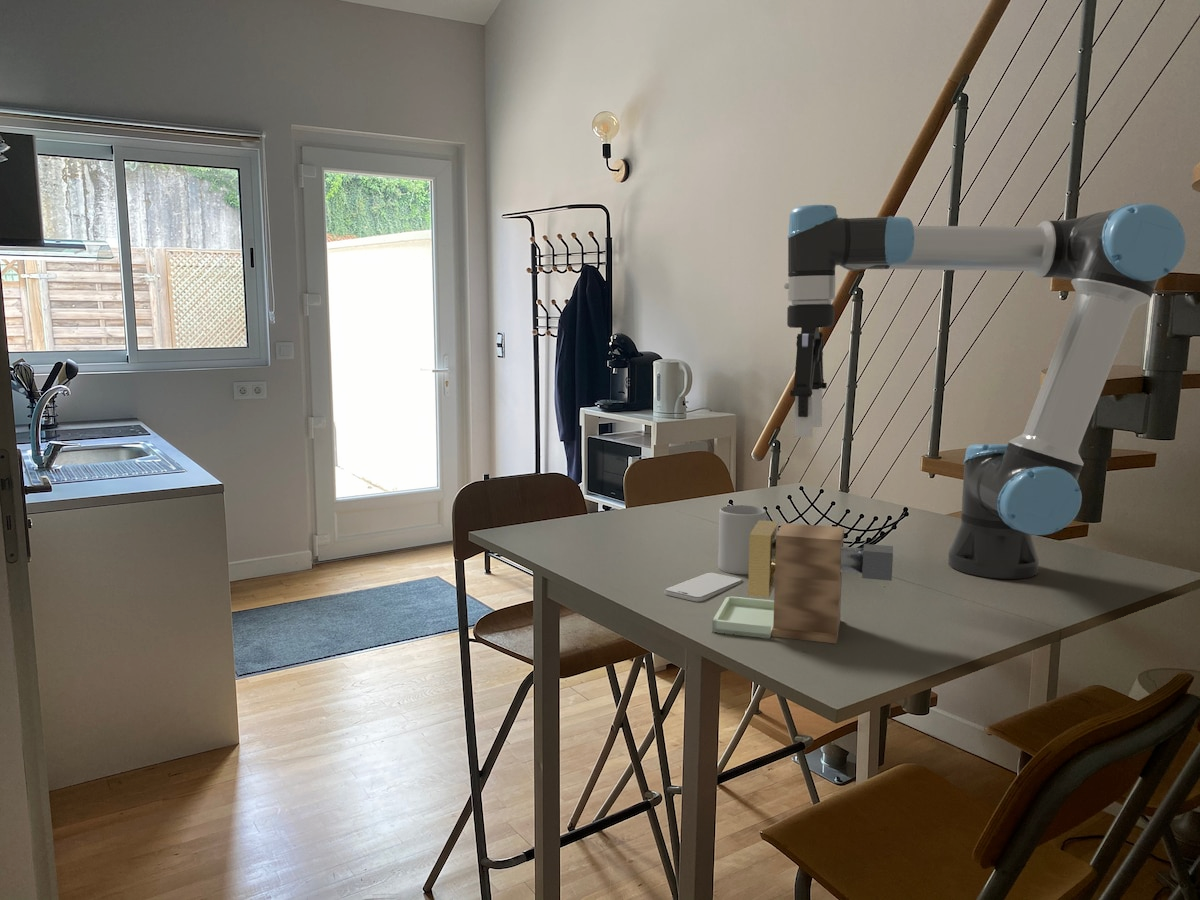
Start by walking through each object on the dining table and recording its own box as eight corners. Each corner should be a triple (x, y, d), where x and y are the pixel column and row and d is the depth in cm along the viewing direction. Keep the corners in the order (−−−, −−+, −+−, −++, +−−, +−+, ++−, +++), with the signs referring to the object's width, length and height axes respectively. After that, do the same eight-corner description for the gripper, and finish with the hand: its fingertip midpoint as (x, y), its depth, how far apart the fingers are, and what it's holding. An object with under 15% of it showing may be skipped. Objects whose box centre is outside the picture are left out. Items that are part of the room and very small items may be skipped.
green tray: (779, 612, 138) (780, 601, 138) (769, 638, 127) (770, 626, 127) (726, 606, 141) (726, 595, 140) (712, 632, 129) (712, 620, 129)
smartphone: (744, 579, 154) (699, 598, 143) (744, 585, 154) (699, 604, 143) (708, 571, 159) (661, 589, 147) (708, 577, 159) (661, 596, 147)
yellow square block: (776, 579, 136) (778, 521, 135) (768, 597, 127) (770, 535, 126) (757, 578, 137) (758, 520, 136) (748, 595, 128) (749, 534, 127)
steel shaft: (891, 572, 128) (892, 546, 127) (891, 580, 124) (892, 553, 124) (753, 561, 134) (753, 535, 133) (749, 568, 130) (749, 541, 130)
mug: (744, 577, 156) (745, 517, 155) (708, 567, 163) (709, 509, 161) (786, 565, 164) (787, 507, 162) (750, 555, 170) (751, 500, 169)
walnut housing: (840, 620, 134) (844, 525, 132) (836, 643, 125) (840, 541, 123) (780, 614, 137) (783, 521, 135) (772, 636, 128) (775, 536, 125)
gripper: (797, 304, 157) (796, 422, 161) (775, 303, 134) (774, 441, 137) (841, 303, 155) (838, 423, 158) (826, 302, 132) (823, 442, 135)
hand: (808, 431), depth 148 cm, fingers open, 13 cm apart
